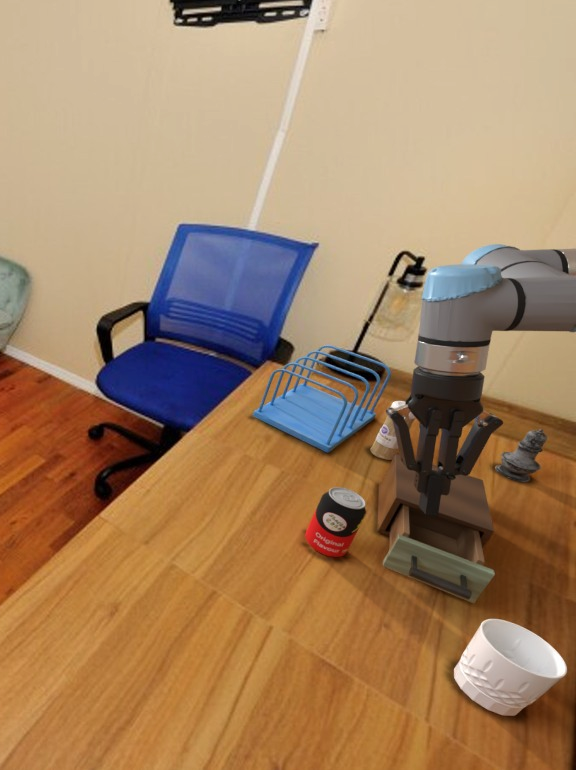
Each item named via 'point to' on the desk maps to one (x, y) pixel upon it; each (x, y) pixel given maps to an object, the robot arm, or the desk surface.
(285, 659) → the desk surface
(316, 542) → the beverage can
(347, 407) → the file sorter
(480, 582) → the drawer
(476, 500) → the cabinet
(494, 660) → the white cup
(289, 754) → the desk surface
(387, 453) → the sprinkles bottle
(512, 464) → the grey chess piece
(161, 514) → the desk surface
